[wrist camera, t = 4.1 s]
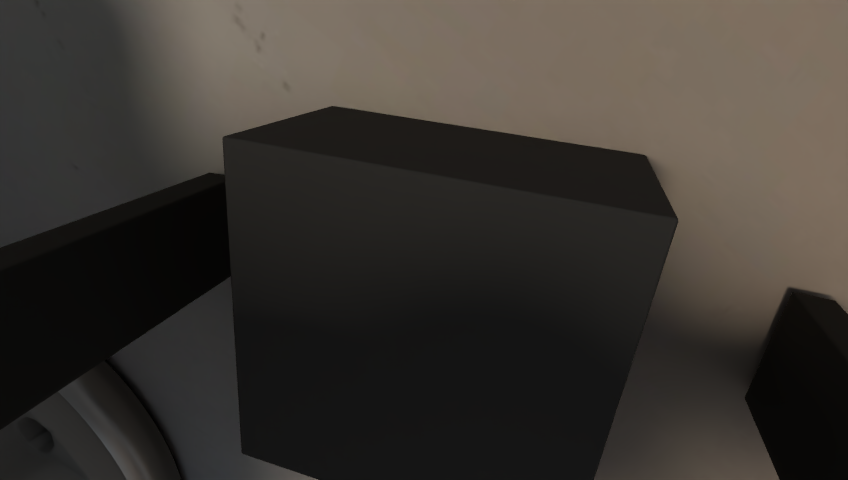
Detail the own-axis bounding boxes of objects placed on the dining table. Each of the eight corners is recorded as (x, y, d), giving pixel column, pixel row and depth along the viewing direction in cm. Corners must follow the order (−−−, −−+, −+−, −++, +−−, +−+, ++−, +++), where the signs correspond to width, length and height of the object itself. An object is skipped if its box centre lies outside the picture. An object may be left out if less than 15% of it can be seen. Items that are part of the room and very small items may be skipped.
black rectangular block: (571, 419, 13) (566, 564, 9) (324, 352, 15) (240, 454, 11) (646, 155, 10) (679, 219, 7) (330, 105, 12) (221, 136, 8)
